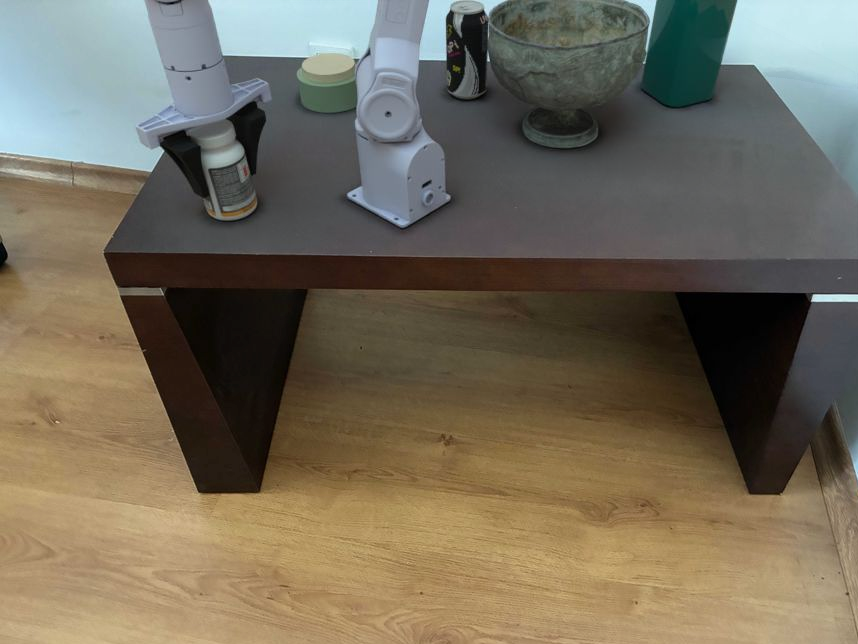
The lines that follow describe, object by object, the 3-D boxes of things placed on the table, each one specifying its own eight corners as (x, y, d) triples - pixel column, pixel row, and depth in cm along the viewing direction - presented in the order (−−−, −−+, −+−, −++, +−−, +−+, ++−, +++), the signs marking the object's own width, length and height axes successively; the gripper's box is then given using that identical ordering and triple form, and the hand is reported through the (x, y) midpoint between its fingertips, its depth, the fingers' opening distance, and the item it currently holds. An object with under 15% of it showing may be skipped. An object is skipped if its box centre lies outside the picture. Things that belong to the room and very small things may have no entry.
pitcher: (634, 86, 104) (664, -85, 88) (682, 76, 107) (719, -93, 91) (675, 115, 98) (715, -65, 82) (724, 103, 100) (772, -73, 85)
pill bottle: (264, 196, 83) (246, 116, 76) (249, 224, 79) (228, 142, 72) (217, 193, 83) (194, 113, 76) (199, 221, 79) (173, 139, 72)
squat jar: (377, 97, 101) (374, 62, 98) (329, 119, 97) (324, 83, 93) (336, 79, 106) (332, 45, 102) (287, 99, 101) (281, 64, 97)
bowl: (580, 86, 104) (593, -25, 94) (660, 145, 92) (686, 25, 81) (458, 113, 98) (457, -3, 87) (526, 180, 86) (535, 55, 75)
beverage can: (439, 89, 103) (437, 2, 95) (474, 81, 105) (475, -5, 97) (459, 105, 100) (458, 16, 91) (494, 96, 102) (496, 8, 93)
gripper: (231, 28, 75) (258, 146, 85) (102, 71, 67) (147, 195, 77) (272, 46, 72) (295, 166, 81) (141, 93, 64) (183, 220, 73)
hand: (226, 182), depth 79 cm, fingers closed on pill bottle, 5 cm apart
